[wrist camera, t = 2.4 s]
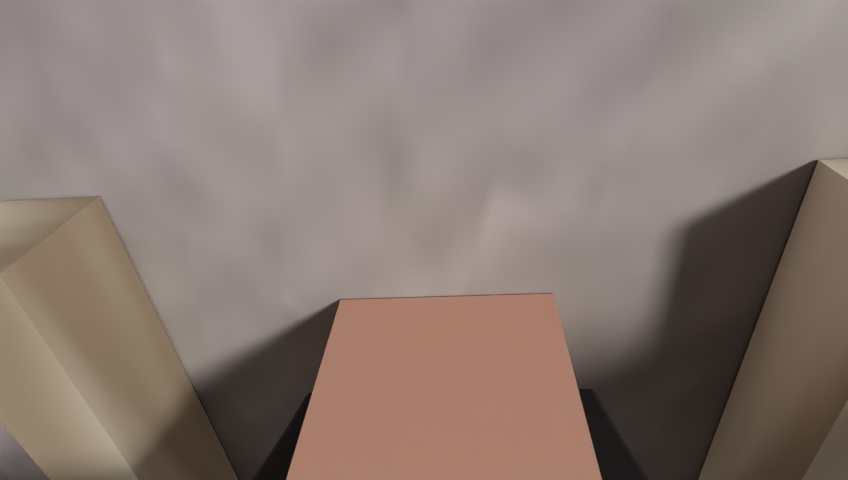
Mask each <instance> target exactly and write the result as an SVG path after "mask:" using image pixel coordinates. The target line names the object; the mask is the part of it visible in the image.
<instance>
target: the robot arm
mask: <svg viewBox="0 0 848 480" xmlns="http://www.w3.org/2000/svg"><path fill="white" fill-rule="evenodd" d="M578 390H579V394H580V398H581V402H582V405H583V409H584V413H585V417H586V421H587V424H588V428H589V432H590V436H591V440H592V444H593V447H594V451H595V455H596V459H597V463H598V466H599V470H600V474H601V478H602V480H649V479H648V478H647V476H646V475H645V474H644V472H643V471H642V469H641V468H640V466H639V465H638V463H637V461H636V460H635V458H634V457H633V455H632V454H631V452H630V451H629V449H628V447H627V446H626V444H625V443H624V441H623V439H622V438H621V436H620V435H619V433H618V431H617V430H616V428H615V426H614V425H613V423H612V421H611V419H610V418H609V416H608V414H607V412H606V411H605V409H604V407H603V405H602V404H601V402H600V400H599V398H598V396H597V394H596V393H595V392H594V391H593V390H592V389H578ZM311 395H312V393H309V394H308V395H307V396H306V397H305V399H304V401H303V402H302V404H301V406H300V407H299V409H298V410H297V412H296V414H295V415H294V417H293V419H292V420H291V422H290V423H289V425H288V427H287V428H286V430H285V431H284V433H283V434H282V436H281V438H280V439H279V441H278V442H277V444H276V445H275V447H274V448H273V450H272V451H271V453H270V454H269V456H268V457H267V459H266V460H265V462H264V463H263V465H262V466H261V468H260V469H259V470H258V472H257V473H256V475H255V476H254V478H253V479H252V480H286V478H287V475H288V472H289V468H290V465H291V462H292V458H293V455H294V452H295V448H296V445H297V442H298V438H299V435H300V432H301V429H302V425H303V422H304V419H305V415H306V412H307V409H308V405H309V402H310V399H311Z"/></svg>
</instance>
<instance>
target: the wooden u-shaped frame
mask: <svg viewBox="0 0 848 480" xmlns="http://www.w3.org/2000/svg"><path fill="white" fill-rule="evenodd" d="M0 422H1V423H2V424H3V425H4V426H5V427H6V429H7V430H8V431H9V432H10V433H11V435H12V436H13V437H14V438H15V439H16V440H17V442H18V443H19V444H20V445H21V446H22V448H23V449H24V450H25V451H26V452H27V453H28V455H29V456H30V457H31V458H32V459H33V461H34V462H35V463H36V464H37V465H38V466H39V468H40V469H41V470H42V471H43V472H44V474H45V475H46V476H47V477H48V478H49V479H50V480H238V478H237V476H236V474H235V472H234V470H233V468H232V466H231V464H230V462H229V460H228V458H227V455H226V453H225V451H224V449H223V447H222V445H221V443H220V441H219V439H218V437H217V435H216V433H215V431H214V429H213V427H212V425H211V423H210V421H209V419H208V417H207V415H206V413H205V411H204V409H203V407H202V405H201V402H200V400H199V398H198V396H197V394H196V392H195V390H194V388H193V386H192V384H191V382H190V380H189V378H188V376H187V374H186V372H185V370H184V368H183V366H182V364H181V362H180V360H179V358H178V356H177V354H176V352H175V350H174V347H173V345H172V343H171V341H170V339H169V337H168V335H167V333H166V331H165V329H164V327H163V325H162V323H161V321H160V319H159V317H158V315H157V313H156V311H155V309H154V307H153V305H152V303H151V301H150V299H149V297H148V294H147V292H146V290H145V288H144V286H143V284H142V282H141V280H140V278H139V276H138V274H137V272H136V270H135V268H134V266H133V264H132V262H131V260H130V258H129V256H128V254H127V252H126V250H125V248H124V246H123V244H122V241H121V239H120V237H119V235H118V233H117V231H116V229H115V227H114V225H113V223H112V221H111V219H110V217H109V215H108V213H107V211H106V209H105V207H104V205H103V203H102V201H101V199H100V197H99V196H97V197H77V198H57V199H37V200H17V201H3V202H2V203H0ZM698 480H848V159H829V160H818V162H817V165H816V168H815V170H814V173H813V175H812V178H811V181H810V183H809V186H808V189H807V191H806V194H805V197H804V199H803V202H802V205H801V207H800V210H799V213H798V215H797V218H796V221H795V223H794V226H793V229H792V231H791V234H790V237H789V239H788V242H787V245H786V247H785V250H784V253H783V255H782V258H781V261H780V263H779V266H778V268H777V271H776V274H775V276H774V279H773V282H772V284H771V287H770V290H769V292H768V295H767V298H766V300H765V303H764V306H763V308H762V311H761V314H760V316H759V319H758V322H757V324H756V327H755V330H754V332H753V335H752V338H751V340H750V343H749V346H748V348H747V351H746V353H745V356H744V359H743V361H742V364H741V367H740V369H739V372H738V375H737V377H736V380H735V383H734V385H733V388H732V391H731V393H730V396H729V399H728V401H727V404H726V407H725V409H724V412H723V415H722V417H721V420H720V423H719V425H718V428H717V431H716V433H715V436H714V438H713V441H712V444H711V446H710V449H709V452H708V454H707V457H706V460H705V462H704V465H703V468H702V470H701V473H700V476H699V478H698Z"/></svg>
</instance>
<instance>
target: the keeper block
mask: <svg viewBox="0 0 848 480" xmlns="http://www.w3.org/2000/svg"><path fill="white" fill-rule="evenodd" d="M286 480H602V478H601V474H600V470H599V466H598V463H597V459H596V455H595V451H594V447H593V444H592V440H591V436H590V432H589V428H588V424H587V421H586V417H585V413H584V409H583V405H582V402H581V398H580V394H579V390H578V386H577V383H576V379H575V375H574V371H573V367H572V363H571V360H570V356H569V352H568V348H567V344H566V341H565V337H564V333H563V329H562V325H561V321H560V318H559V314H558V310H557V306H556V302H555V299H554V295H553V294H519V295H485V296H451V297H417V298H384V299H350V300H340V303H339V306H338V309H337V312H336V316H335V319H334V322H333V326H332V329H331V332H330V336H329V339H328V342H327V346H326V349H325V352H324V356H323V359H322V362H321V366H320V369H319V372H318V375H317V379H316V382H315V385H314V389H313V392H312V395H311V399H310V402H309V405H308V409H307V412H306V415H305V419H304V422H303V425H302V429H301V432H300V435H299V438H298V442H297V445H296V448H295V452H294V455H293V458H292V462H291V465H290V468H289V472H288V475H287V478H286Z"/></svg>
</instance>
